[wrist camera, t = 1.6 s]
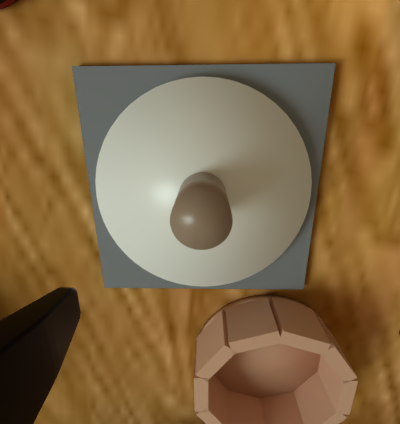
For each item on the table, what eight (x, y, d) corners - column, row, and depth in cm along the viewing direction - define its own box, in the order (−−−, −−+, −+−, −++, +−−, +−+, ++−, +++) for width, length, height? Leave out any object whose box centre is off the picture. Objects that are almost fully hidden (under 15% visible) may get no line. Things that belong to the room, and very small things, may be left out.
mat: (106, 283, 21) (104, 287, 21) (76, 67, 16) (72, 66, 16) (301, 285, 21) (303, 289, 20) (331, 64, 16) (335, 63, 15)
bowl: (197, 398, 25) (195, 448, 21) (195, 291, 21) (192, 329, 17) (319, 400, 25) (340, 452, 21) (341, 293, 21) (370, 332, 17)
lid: (112, 279, 20) (82, 333, 15) (85, 80, 16) (29, 63, 11) (295, 280, 20) (324, 335, 15) (321, 76, 15) (375, 58, 10)
